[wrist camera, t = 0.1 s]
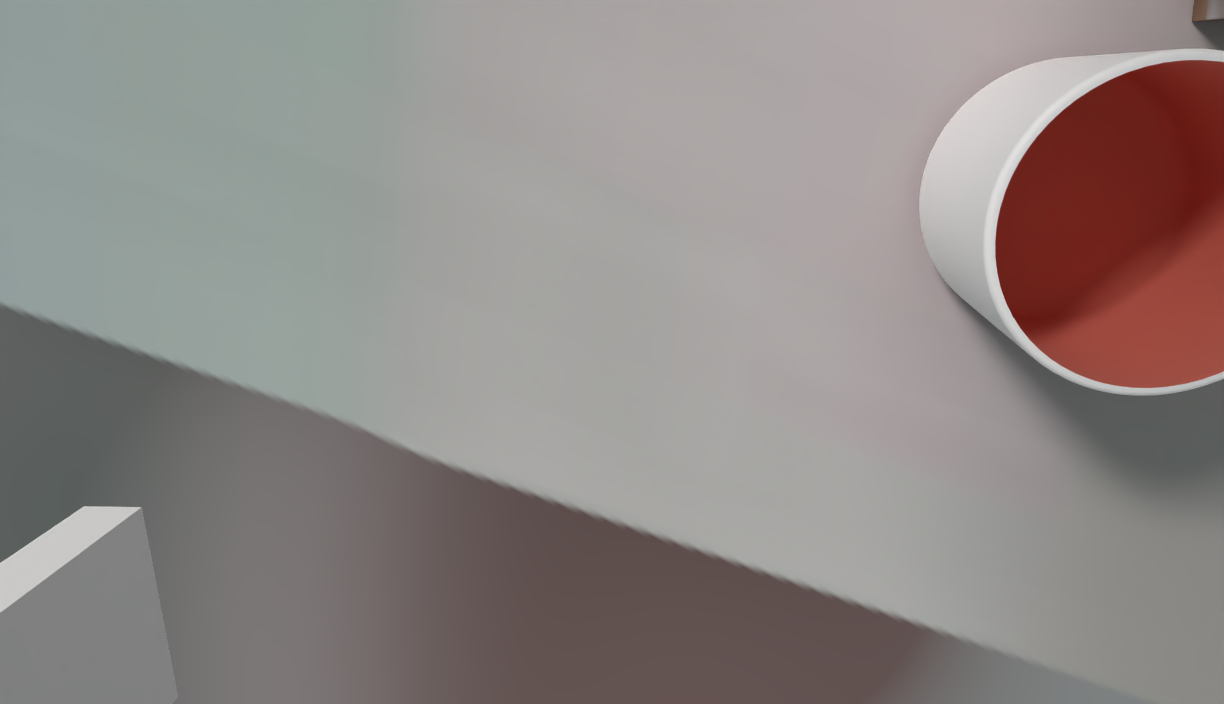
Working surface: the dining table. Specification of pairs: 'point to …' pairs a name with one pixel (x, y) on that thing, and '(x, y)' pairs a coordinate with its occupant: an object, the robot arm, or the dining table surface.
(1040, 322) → the cup
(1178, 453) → the dining table surface
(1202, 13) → the cradle
